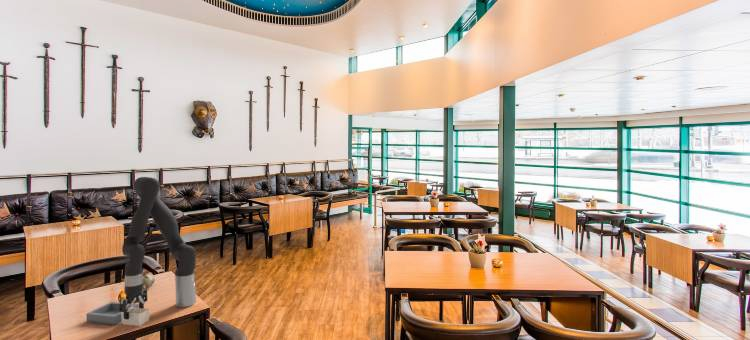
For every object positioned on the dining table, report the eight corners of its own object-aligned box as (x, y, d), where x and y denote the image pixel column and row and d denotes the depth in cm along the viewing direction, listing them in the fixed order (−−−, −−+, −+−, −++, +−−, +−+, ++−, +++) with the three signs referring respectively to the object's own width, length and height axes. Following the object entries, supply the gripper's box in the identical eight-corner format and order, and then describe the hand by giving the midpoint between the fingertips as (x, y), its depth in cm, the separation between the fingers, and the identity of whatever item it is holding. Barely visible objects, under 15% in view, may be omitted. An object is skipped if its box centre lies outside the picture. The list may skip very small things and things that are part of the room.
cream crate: (131, 318, 185) (131, 307, 185) (149, 320, 184) (148, 309, 183) (121, 324, 179) (121, 312, 179) (139, 326, 178) (139, 314, 177)
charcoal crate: (111, 309, 194) (111, 301, 194) (138, 312, 192) (137, 304, 191) (86, 322, 181) (86, 313, 180) (114, 325, 178) (114, 316, 178)
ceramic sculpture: (159, 269, 230) (145, 280, 216) (160, 282, 232) (146, 294, 217) (141, 269, 230) (126, 280, 215) (143, 283, 231) (127, 294, 216)
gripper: (128, 289, 172) (128, 322, 173) (151, 278, 186) (151, 309, 187) (114, 287, 174) (114, 320, 175) (138, 277, 188) (139, 308, 189)
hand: (134, 315), depth 181 cm, fingers open, 8 cm apart
